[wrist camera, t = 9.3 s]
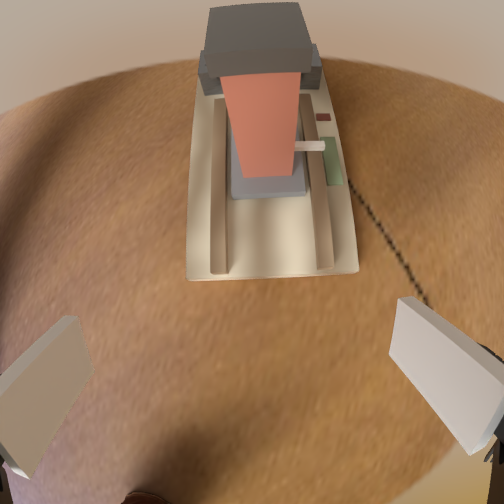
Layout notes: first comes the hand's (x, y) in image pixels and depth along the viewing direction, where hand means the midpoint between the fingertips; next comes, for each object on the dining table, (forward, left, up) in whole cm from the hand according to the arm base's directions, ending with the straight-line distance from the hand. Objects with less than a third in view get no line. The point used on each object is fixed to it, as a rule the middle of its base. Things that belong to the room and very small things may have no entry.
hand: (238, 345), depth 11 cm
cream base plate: (+1, +16, -13) cm, 21 cm away
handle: (+2, +14, -12) cm, 19 cm away
